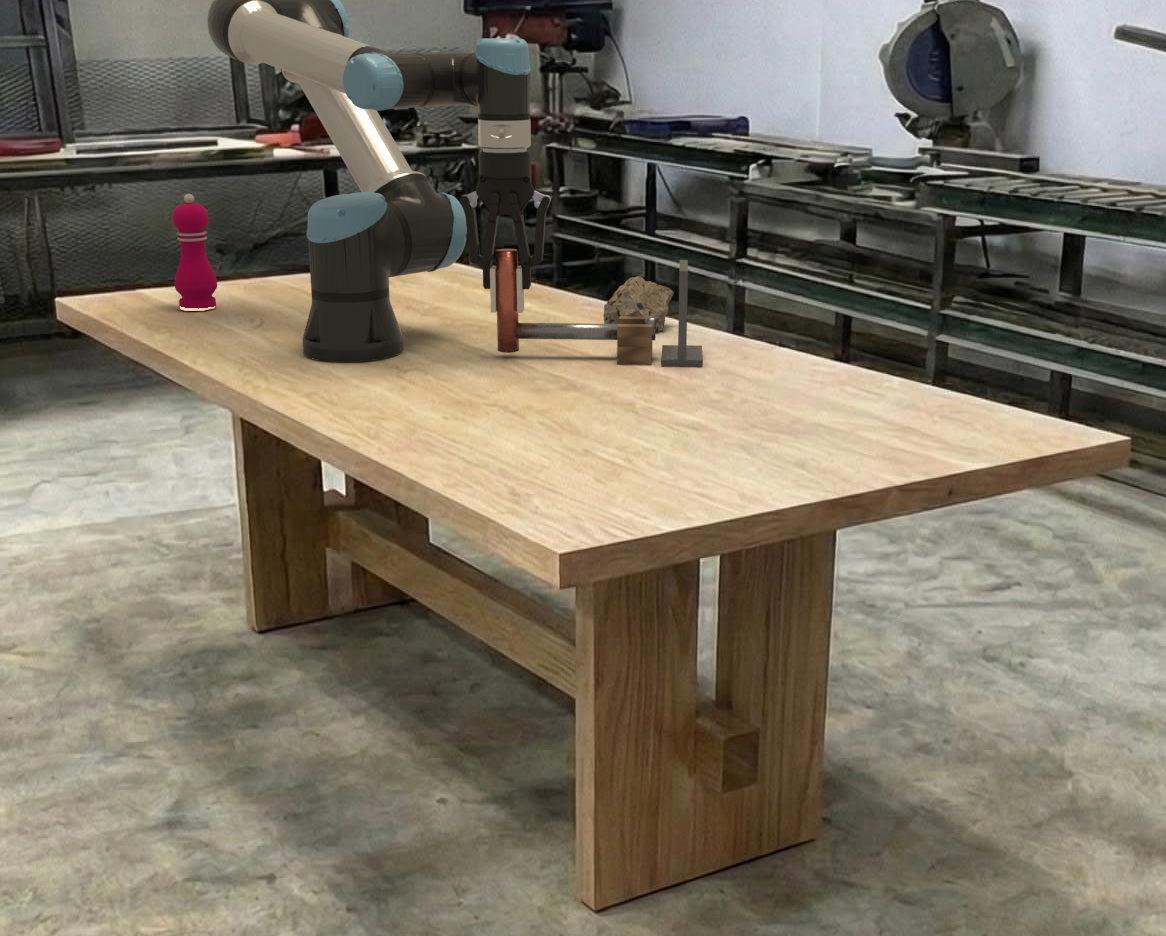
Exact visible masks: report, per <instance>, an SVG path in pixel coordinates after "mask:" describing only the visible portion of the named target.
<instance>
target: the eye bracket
mask: <svg viewBox="0 0 1166 936" xmlns="http://www.w3.org/2000/svg"><path fill="white" fill-rule="evenodd" d="M688 260H689V259H680V260H679V268H678V269H679V273H678V274H679V277H678V278H679V282H678V285H679V286H678V329H677V331H678V332H677V333H678V334H677V336H678V337H677V339H678V340H677V341H678V342H677V345H676V344H673V345H672V344H662V346H661V347H662V348H661V364H660V365H661V367H667V368H668V367H671V368H673V367H674V368H675V367H676V368H677V367H679V368H682V367H683V368H687V367H688V368H691V367H692V368H703V367H704V366H703V364H704V363H703V361H704V360H703V359H704V358H703V345H691V344H689V345H688V344H687V343H688V342H687V341H688V337H687V336H688V334H687V333H688V332H687V331H688V326H687V325H688V292H689V291H688V290H689V289H688V288H689V287H688V286H689V285H688V284H689V282H688V281H689V262H688Z"/></svg>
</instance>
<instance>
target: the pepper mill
mask: <svg viewBox="0 0 1166 936" xmlns="http://www.w3.org/2000/svg"><path fill="white" fill-rule="evenodd" d="M183 201H184V203H181V204H179V205H177V206H176V207H175V208H174V210H173V213H172V224H173V225H174V226H175V228H177V230H178V231H177V232H176V235H177V241H178V242H179V246H180V261H179V263H178V264H179V265H178V266H177V270H176V272H175V277H174V289H175V291H176V292H177V293H178V294H179V295H180V296H181V298H180V299H178V303H179V305H178V306H181V307H185V308H198V309H199V308H208V307H214V306H216V307H217V301H216V297H214V296H213V294H214V293H215V292H216V290H217V288H218V280H217V275H216V274H215V271H214V269H213V267H212V265H211V263H210V261H209V259H208V256H207V251H206V240H207V239H208V237H207V231H206V230H205V229H206V227H207V226H208V224H209V214H208V211H207V209H206V208H205V207H204V206H203V205H201V204H199V203H196V202H195V196H194V195H193V194H191V193H187V194H185V195H184V196H183Z"/></svg>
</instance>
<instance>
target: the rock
mask: <svg viewBox="0 0 1166 936" xmlns="http://www.w3.org/2000/svg"><path fill="white" fill-rule="evenodd" d="M673 295H674V291H673V290H672V289H671V288H669V287H668V286H664V285H660V284H658V283H656V282H652V281H650V280H649V281H646V280H645V279H644V278H643V277H642V276H640V275H637V276H635V277H633V276H632V277H629V278H628V279H626V281H625V283H624V284H623V285H620V286H618V288H617V290H616V291H614V293H613V295H612V296H611V298H610V299H609V300H608V301H607V302H606V303H605V304H603V324H619V316H632V317H650V316H654V317H659V332H660V331H662V330H663V329H664V327H665V323H666V317H667V315H668V311H669V303H670V301H671V300H672V298H673Z"/></svg>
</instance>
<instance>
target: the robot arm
mask: <svg viewBox="0 0 1166 936" xmlns="http://www.w3.org/2000/svg"><path fill="white" fill-rule="evenodd" d="M347 22H349V18H348V15H347V12H346V9H345V6H344V5H343V3H342V2H341V0H213V1H212V3H211V4H210V7H209V10H208V14H207V22H206V23H207V30H208V34H209V36H210V40H211V41H212V42H213V44H214V46H215V47H216V48H217V49H218V50H219V51H220V52H221V53H223V54H224V55H225V56H226V57H229V58H231V59H234V60H237V61H238V62H242V63H244V64H247V65H252V66H253V65H260V64H266V65H269V66H271V67H274V68H276V69H279V70H280V71H281V73H282V75H283V77H284V78H285V80H287V81H288V82H290V83H293V84H298V85H299V86H300V88H301V89H302V91H303V93H304V95H305V96H306V98H307V100H308V102H309V104H310V105H311V107H312V109H313V110H314V112H315V113H316V115H317V117H318V119H319V120H320V123H321V124H322V126H323V128H324V130H325V131H326V133H327V135H328V136H329V138H330V140H331V142H332V143H333V145H334V147H335V148H336V150H337V152H338V153H339V155H340V157H341V159H342V161H343V162H344V164H345V166H346V168H347V169H348V171H349V172H350V175H351V176H352V178H353V180H354V181H355V183H356V185H357V187H358V188H359V190H360V191H359V192H353V193H342V194H337V195H332V196H328V197H325V198H322V199H320V200H317V201H316V202H314V203H313V204H312V205H311V206H310V208H309V210H308V212H307V230H306V238H307V239H308V240H307V241H308V256H309V257H308V258H309V273H310V274H309V277H310V291H311V292H310V293H311V306H310V308H309V313H308V316H307V320H306V324H305V329H304V331H303V336H302V354H303V355H304V356H305V357H306V356H307V358H309V357H310V358H309V359H312V358H313V360H316V359H317V361H322V360H323V362H337V363H352V362H353V363H355V362H370V361H377V360H384V359H387V358H392V357H395V356H398V355H399V354H401V353H402V352H403V351H404V337H403V333H402V330H401V328H400V326H399V322H398V320H397V317H396V314H395V311H394V308H393V306H392V304H391V303H392V302H391V300H390V299H391V297H390V278H393V277H395V278H396V277H401V276H407V275H413V274H419V273H425V272H427V273H432V272H435V271H437V270H440V269H444V268H448V267H450V266H452V265H453V264H455V263H456V261H458V259H459V258H460V257H461V256H462V254H463V251H464V249H465V247H466V243H468V244H467V245H468V254H469V261H470V263H472V264H476V265H479V266H481V269H482V287H483V288H484V290H490V292H489V293H490V295H489V296H490V313H496V314H497V294H496V265H493V262H494V261H493V260H494V253H495V247H496V238H497V232H498V226H499V225H498V224H499V220H500V216H504V215H507V216H510V217H512V222H513V226H514V231H515V236H516V242H517V247H518V249H517V250H518V253H519V258H520V260H519V261H520V265H518V268H517V269H516V270H517V313H518V314H520V313H521V314H522V313H523V312H524V311H525V290H530V288H531V286H532V268H533V267H534V266H535V265H536V266H537V265H539V264H541V263H542V262H543V260H544V252H545V251H544V250H545V249H544V248H545V237H546V236H545V235H546V220H547V211H548V208H549V206H550V204H551V201H552V196H551V195H550V194H543V193H542V192H541V193H540V192H539V191H536V189H535V186H534V184H533V181H532V153H530V151H529V150H527V149H529V148H530V147H531V146H532V143H531V142H532V141H531V140H532V137H531V135H532V133H531V132H532V131H531V129H532V127H531V126H532V124H531V123H532V121H531V72H532V68H531V61H530V50H529V45H528V42H527V41H526V40H525V39H523V38H519V37H518V38H517V37H516V38H512V37H511V38H502V37H499V38H497V37H496V38H495V37H494V38H492V37H491V38H479V39H477V42H476V45H475V46H476V51H475V52H464V51H451V50H443V51H442V50H441V51H440V50H437V51H432V52H406V53H405V52H392V51H391V52H390V51H386V50H384V49H380V48H377V47H374V46H372V45H369V44H367V43H364V42H360V41H358V40H355V39H352V38H349V37H350V26H348V25H347ZM442 106H443V107H444V106H445V107H447V106H468V107H469V106H471V107H473V106H474V107H477V125H478V126H477V127H478V129H477V131H478V133H477V134H478V137H477V138H478V140H477V141H478V144H477V145H478V147H479V148H481V150H482V151H480V153H478V171H479V172H478V176H479V178H478V179H479V180H478V184H477V186H476V188H475V191H472V192H470V193H468V194H467V193H466V194H462V195H461V196H460V198H459V200H458V199H457V198H456V197H455V196H454V195H451V194H447V193H446V192H443V191H442V192H438V193H437V191H436V190H435V189H434V186H433V185H432V183H431V182H430V180H429V178H428V177H427V175H426V174H424V173H423V172H421V171H416V170H415V171H414V170H412V167H411V166H410V165H409V163H408V162H407V160H406V158H405V156H404V154H403V153H402V151H401V150H400V148H399V146H398V144H397V142H396V141H395V139H394V138H393V136H392V134H391V132H390V130H389V129H388V127H387V126H386V124H385V122H384V121H383V119H382V117H381V116H380V114H379V112H380V111H381V112H382V111H386V110H393V109H396V110H397V109H407V108H408V109H409V108H411V109H412V108H426V107H427V108H428V107H442ZM378 111H379V112H378ZM478 199H479V200H480V201H481V203H483V206H484V207H485V208H486V209H487V211H488V217H487V227H486V233H485V240H484V248H483V254H481V251H480V242H479V240H480V239H479V231H478V222H477V221H478V220H477V211H476V207H477V205H478ZM532 199H533V201H534V202H533V206H534V207H535V208H536V209H537V210H536V216H535V232H534V244H533V245H534V246H533V254H532V255H530V247H529V240H528V236H527V231H526V225H525V217H524V216H525V215H524V209H525V208H526V206H527V205H528V204H529V202H530V201H531V200H532ZM532 266H533V267H532Z"/></svg>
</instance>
